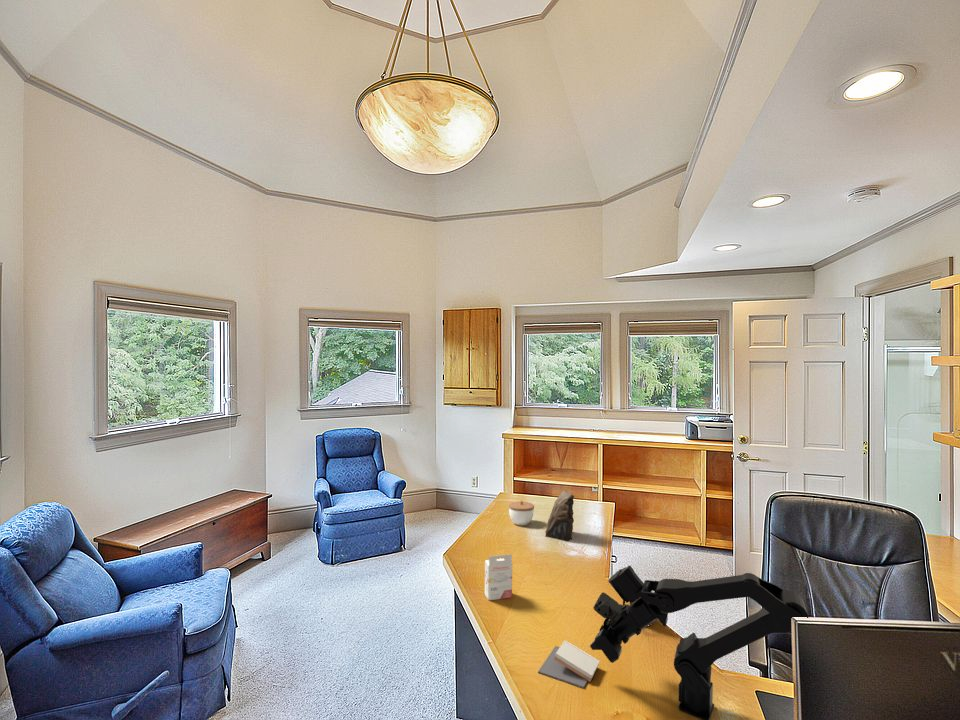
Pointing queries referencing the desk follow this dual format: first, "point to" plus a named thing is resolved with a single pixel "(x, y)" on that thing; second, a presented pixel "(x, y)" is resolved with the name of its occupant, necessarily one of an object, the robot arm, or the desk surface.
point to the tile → (577, 660)
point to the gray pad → (561, 671)
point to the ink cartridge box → (498, 577)
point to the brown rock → (561, 518)
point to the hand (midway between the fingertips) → (591, 647)
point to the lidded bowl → (521, 512)
